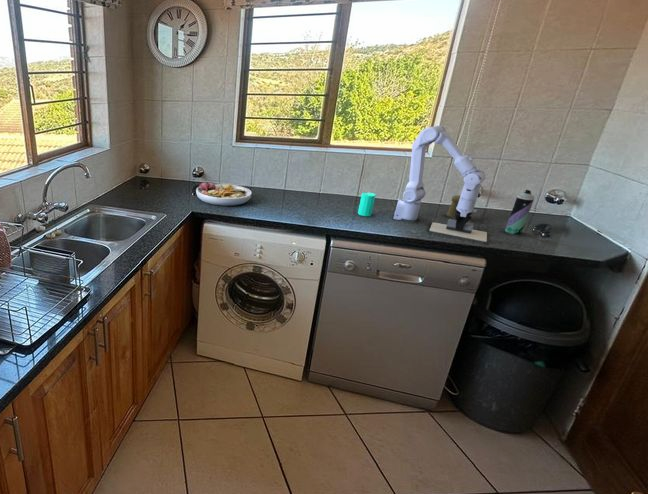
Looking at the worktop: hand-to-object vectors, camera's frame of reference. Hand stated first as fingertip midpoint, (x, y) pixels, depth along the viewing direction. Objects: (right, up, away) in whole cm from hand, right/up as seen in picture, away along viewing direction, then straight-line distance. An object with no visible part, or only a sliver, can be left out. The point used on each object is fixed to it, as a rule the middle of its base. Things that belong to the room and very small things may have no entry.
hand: (458, 228), depth 178 cm
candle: (-29, +7, +23) cm, 38 cm away
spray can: (+23, -3, 0) cm, 23 cm away
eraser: (0, -1, 0) cm, 1 cm away
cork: (+12, +5, +20) cm, 24 cm away
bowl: (-96, +16, +45) cm, 107 cm away
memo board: (-1, -2, 0) cm, 3 cm away
